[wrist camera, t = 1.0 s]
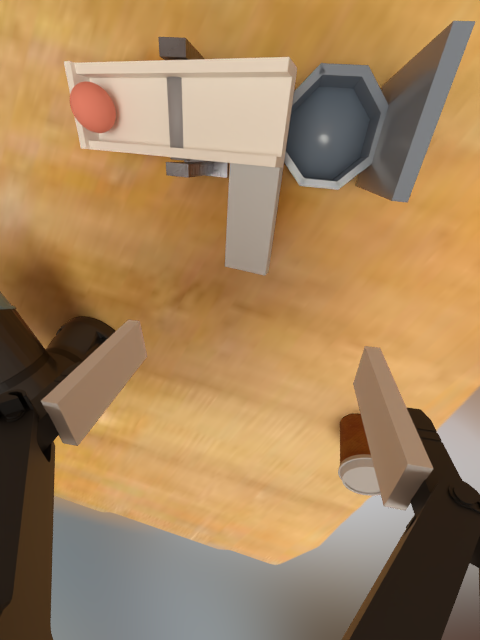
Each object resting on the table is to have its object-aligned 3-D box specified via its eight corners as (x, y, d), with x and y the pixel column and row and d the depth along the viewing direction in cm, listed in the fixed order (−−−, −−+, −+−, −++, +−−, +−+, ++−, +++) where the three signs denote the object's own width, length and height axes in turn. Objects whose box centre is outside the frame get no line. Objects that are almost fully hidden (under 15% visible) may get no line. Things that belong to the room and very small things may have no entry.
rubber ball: (102, 134, 30) (66, 129, 27) (95, 87, 28) (55, 77, 25) (127, 135, 28) (91, 131, 25) (121, 86, 26) (82, 75, 23)
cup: (276, 180, 36) (263, 191, 23) (290, 76, 31) (283, 9, 17) (364, 189, 35) (405, 206, 21) (395, 82, 29) (478, 14, 16)
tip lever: (120, 238, 37) (99, 244, 35) (94, 69, 28) (63, 58, 25) (269, 271, 31) (259, 281, 28) (298, 66, 22) (288, 50, 19)
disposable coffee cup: (351, 401, 53) (364, 457, 43) (391, 422, 54) (412, 482, 44) (322, 425, 58) (327, 481, 48) (359, 444, 59) (371, 503, 49)
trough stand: (187, 173, 38) (150, 176, 28) (184, 69, 32) (138, 31, 23) (228, 177, 37) (205, 182, 28) (233, 71, 31) (206, 33, 22)
